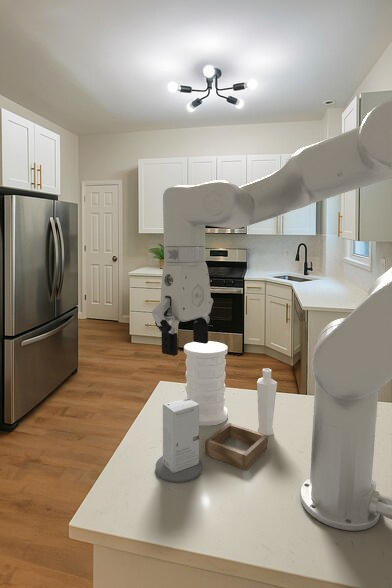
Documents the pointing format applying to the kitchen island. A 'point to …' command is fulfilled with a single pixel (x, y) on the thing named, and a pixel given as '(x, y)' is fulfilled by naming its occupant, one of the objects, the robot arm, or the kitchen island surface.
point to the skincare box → (180, 434)
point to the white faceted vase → (266, 402)
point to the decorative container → (207, 380)
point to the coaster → (180, 475)
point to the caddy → (232, 455)
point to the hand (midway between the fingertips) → (186, 348)
